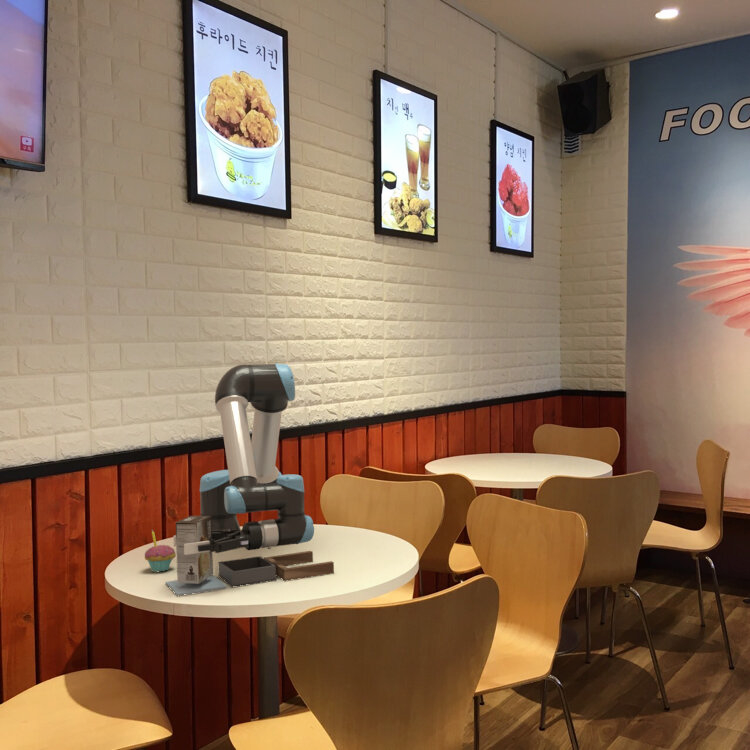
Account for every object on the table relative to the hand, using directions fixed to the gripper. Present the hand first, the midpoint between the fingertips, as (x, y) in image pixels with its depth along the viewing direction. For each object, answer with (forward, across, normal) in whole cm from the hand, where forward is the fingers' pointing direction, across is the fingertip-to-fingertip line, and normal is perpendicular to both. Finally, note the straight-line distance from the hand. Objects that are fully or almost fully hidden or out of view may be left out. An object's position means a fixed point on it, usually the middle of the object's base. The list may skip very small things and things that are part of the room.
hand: (179, 545), depth 208 cm
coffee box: (-4, 0, -10) cm, 11 cm away
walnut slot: (-34, 0, -12) cm, 36 cm away
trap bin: (-18, 0, -12) cm, 22 cm away
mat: (-4, 0, -12) cm, 12 cm away
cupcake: (0, +22, -12) cm, 25 cm away
